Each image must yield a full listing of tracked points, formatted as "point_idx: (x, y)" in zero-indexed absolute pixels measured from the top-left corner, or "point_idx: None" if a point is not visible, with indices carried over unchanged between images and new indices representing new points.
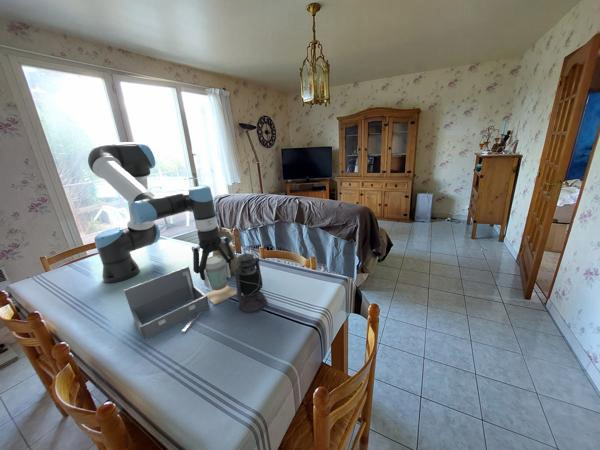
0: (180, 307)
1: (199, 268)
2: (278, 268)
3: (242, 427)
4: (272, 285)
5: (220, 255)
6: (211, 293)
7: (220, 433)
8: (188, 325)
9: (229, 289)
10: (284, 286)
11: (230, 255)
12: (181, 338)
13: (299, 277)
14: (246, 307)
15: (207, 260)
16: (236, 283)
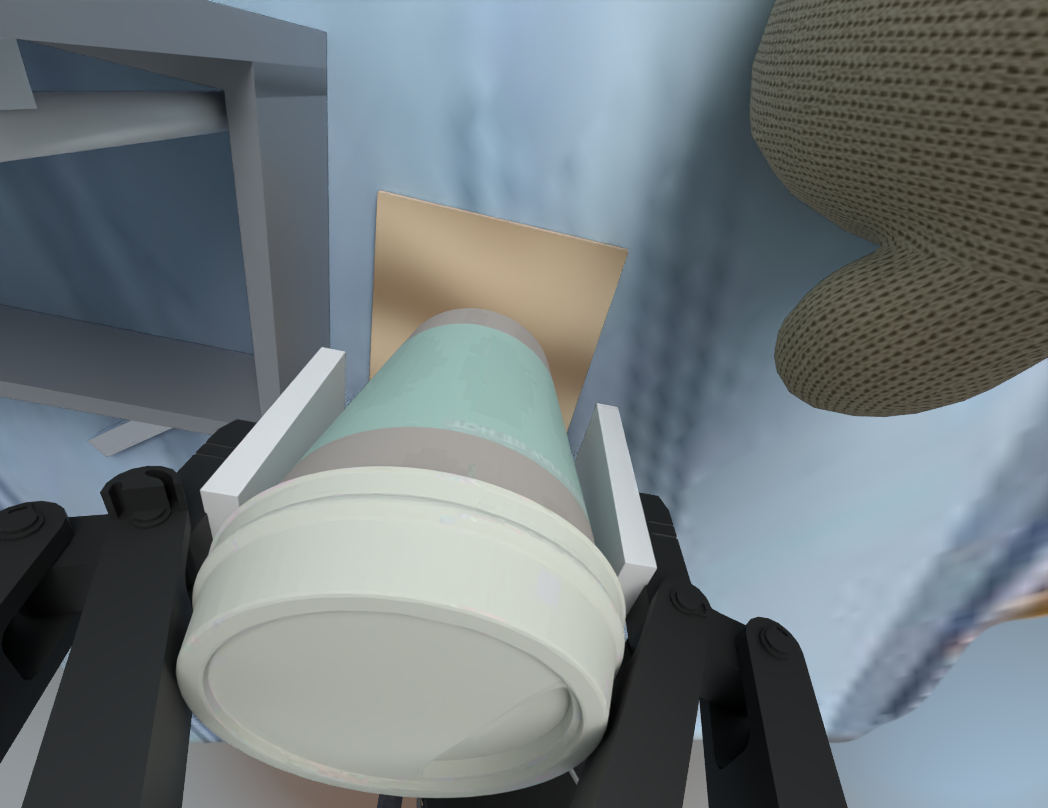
0: (31, 388)
1: (111, 563)
2: (1019, 474)
3: (194, 738)
4: (738, 554)
5: (1035, 151)
6: (438, 254)
7: None
8: (136, 438)
9: (569, 356)
10: (745, 603)
11: (709, 766)
12: (93, 461)
13: (867, 621)
14: None
15: (290, 642)
16: (379, 795)
